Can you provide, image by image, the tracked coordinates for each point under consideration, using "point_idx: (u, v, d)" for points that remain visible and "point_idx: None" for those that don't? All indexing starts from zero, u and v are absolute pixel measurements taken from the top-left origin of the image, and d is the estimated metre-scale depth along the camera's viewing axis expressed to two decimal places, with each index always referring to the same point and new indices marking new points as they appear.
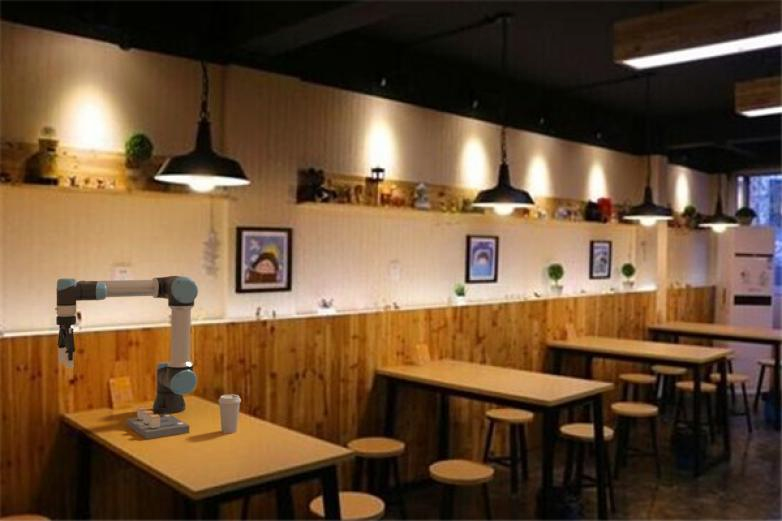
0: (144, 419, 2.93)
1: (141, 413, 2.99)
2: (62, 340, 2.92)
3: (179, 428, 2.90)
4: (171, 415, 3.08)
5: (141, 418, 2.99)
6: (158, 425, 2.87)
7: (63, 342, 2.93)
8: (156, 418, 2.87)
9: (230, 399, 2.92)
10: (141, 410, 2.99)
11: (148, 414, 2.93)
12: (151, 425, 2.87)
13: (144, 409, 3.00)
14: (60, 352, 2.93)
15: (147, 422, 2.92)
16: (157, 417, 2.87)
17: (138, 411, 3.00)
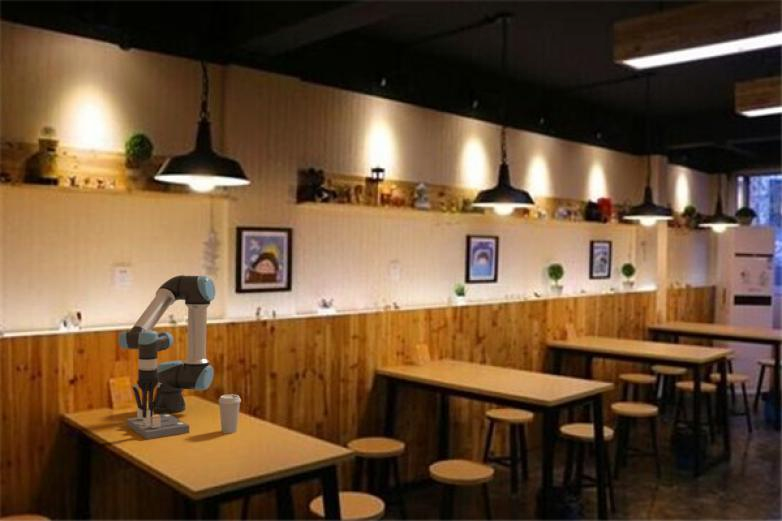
0: (144, 419, 2.93)
1: (141, 413, 2.99)
2: (148, 397, 2.87)
3: (179, 428, 2.90)
4: (171, 415, 3.08)
5: (141, 418, 2.99)
6: (159, 425, 2.87)
7: (149, 400, 2.86)
8: (157, 418, 2.87)
9: (230, 399, 2.92)
10: (141, 410, 2.99)
11: None
12: (152, 425, 2.87)
13: None
14: None
15: None
16: (158, 417, 2.87)
17: (138, 411, 3.00)
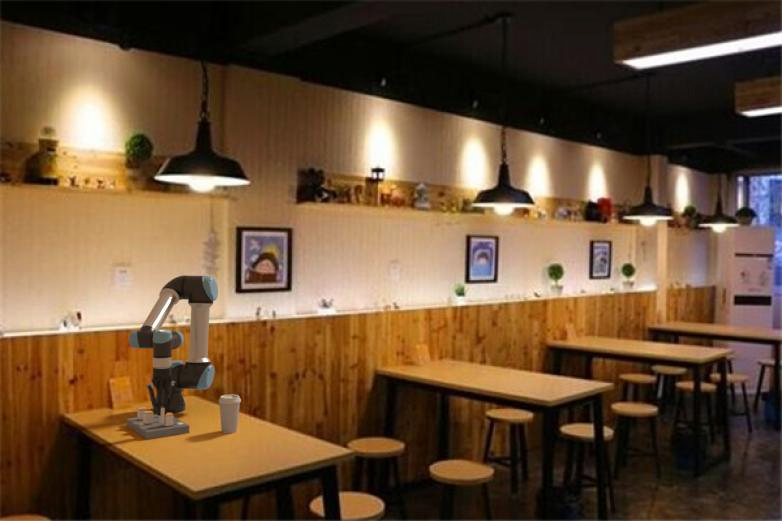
0: (144, 419, 2.93)
1: (141, 413, 2.99)
2: (163, 395, 2.90)
3: (179, 428, 2.90)
4: None
5: (141, 418, 2.99)
6: (171, 423, 2.91)
7: (163, 398, 2.90)
8: (169, 416, 2.90)
9: (230, 399, 2.92)
10: (141, 410, 2.99)
11: (148, 414, 2.93)
12: (164, 423, 2.90)
13: (144, 409, 3.00)
14: None
15: (147, 422, 2.92)
16: (170, 415, 2.90)
17: (138, 411, 3.00)
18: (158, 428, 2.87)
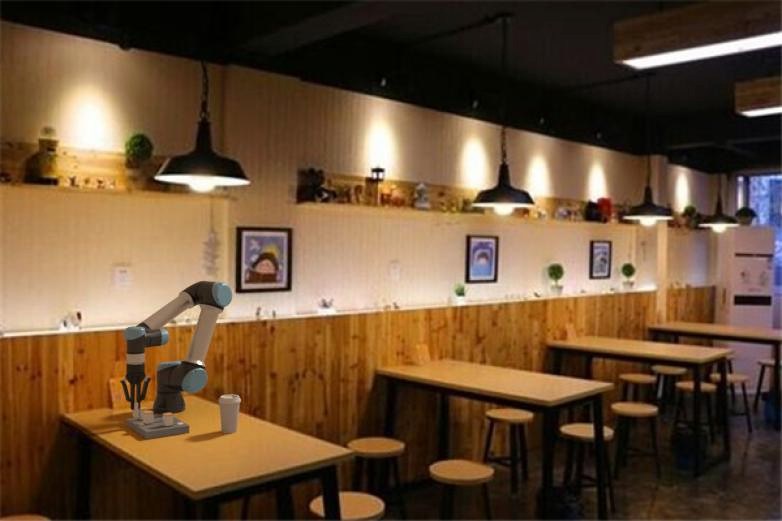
0: (144, 419, 2.93)
1: (142, 413, 2.99)
2: (136, 390, 2.99)
3: (179, 428, 2.90)
4: None
5: (142, 418, 2.99)
6: (171, 423, 2.91)
7: (137, 393, 2.99)
8: (169, 416, 2.90)
9: (230, 399, 2.92)
10: (142, 410, 2.99)
11: (148, 414, 2.93)
12: (164, 423, 2.90)
13: (145, 409, 3.00)
14: None
15: (147, 422, 2.92)
16: (170, 415, 2.90)
17: (139, 411, 3.00)
18: (158, 428, 2.87)
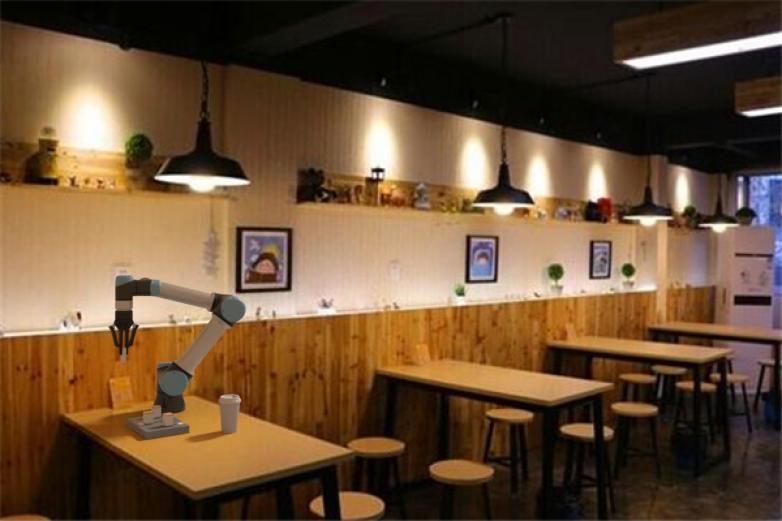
0: (144, 419, 2.93)
1: (155, 411, 3.02)
2: (124, 336, 3.09)
3: (179, 428, 2.90)
4: None
5: (155, 416, 3.03)
6: (171, 423, 2.91)
7: (125, 339, 3.09)
8: (169, 416, 2.90)
9: (230, 399, 2.92)
10: (155, 408, 3.02)
11: (148, 414, 2.93)
12: (164, 423, 2.90)
13: (158, 407, 3.03)
14: None
15: (147, 422, 2.92)
16: (170, 415, 2.90)
17: (152, 409, 3.03)
18: (158, 428, 2.87)
